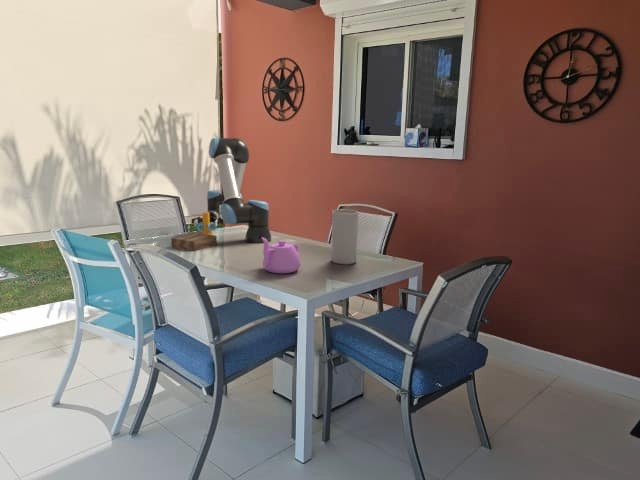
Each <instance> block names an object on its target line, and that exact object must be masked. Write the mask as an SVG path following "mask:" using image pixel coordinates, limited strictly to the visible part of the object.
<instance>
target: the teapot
mask: <svg viewBox="0 0 640 480" xmlns="http://www.w3.org/2000/svg"><path fill="white" fill-rule="evenodd" d="M262 239H263V242H264V243H263V249H262V250H263V251H262V253H263V261H262V265H263V269H264V270H266V271H267V272H270V273H273V274H280V275H284V274H290V273H295V272H296V271H297V270H298V269H299V268H300V267H301V265H302V264H301V262H302V260H301V258H300V255H299V253H298V252H299V247H298V245H297V244H296V243H288V242H287V241H286V240H284V239H281V240H278V241H277V242H276V243H272V244H271V245H270V246H269V242H268V241H267V239H265V238H263V237H262Z"/></svg>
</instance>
